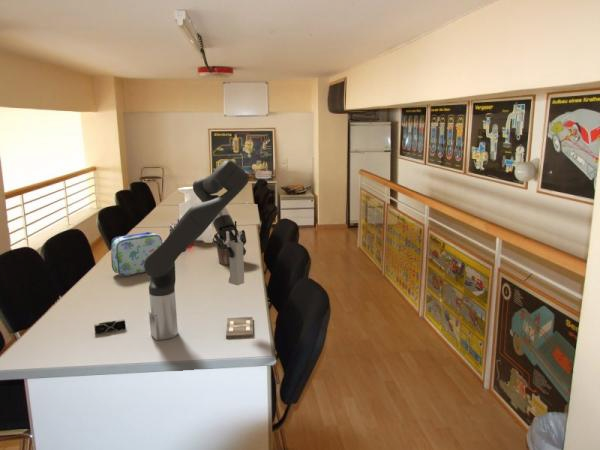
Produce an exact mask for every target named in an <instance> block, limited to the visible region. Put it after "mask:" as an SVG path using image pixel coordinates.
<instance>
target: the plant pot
mask: <svg viewBox="0 0 600 450" xmlns="http://www.w3.org/2000/svg"><path fill="white" fill-rule="evenodd" d="M214 235H218V233H217V232H216V233H215V234H214ZM238 236H239V235H238ZM239 238H240V237H239ZM220 239H221V238H220ZM240 240H241V239H240ZM221 241H222V242H223V240H222V239H221ZM215 245H216V250H217V251H216V252H217V256H218V257H217V259H218V263H219V264H221V265H224V266H230V261H229V255H228V253H227V251H226V250H224V249H223V250H221V249H220V248H219V247H218V246H217V244H216V243H215Z"/></svg>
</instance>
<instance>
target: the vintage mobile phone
mask: <svg viewBox="0 0 600 450" xmlns="http://www.w3.org/2000/svg"><path fill="white" fill-rule="evenodd" d="M234 225H235V240H232V241H230V242H228V243H229V244H230V247H231V248H232V250H233V253H234V255H235V256H234V257H233V258H231V257H229V261H230V265H229V277H228V284H232V285H235V286H240V285H242V284H244V283H245V263H244V262H245V260H244V259H245V258H244V256H245V255H243V242H241V241H237V230H238V227H237V221H236V220H234Z"/></svg>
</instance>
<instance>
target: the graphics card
mask: <svg viewBox="0 0 600 450" xmlns="http://www.w3.org/2000/svg"><path fill="white" fill-rule="evenodd" d="M93 326H94V335H97V334H98V335H99V334H104V333H109V332H115V331H120V330H125V329H126V328H127V326H126V319H125V318H123V319H121V318H120V319H116V320H113V321H112V320H111V321H103V322H99V323H94V325H93Z"/></svg>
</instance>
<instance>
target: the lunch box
mask: <svg viewBox="0 0 600 450" xmlns="http://www.w3.org/2000/svg"><path fill="white" fill-rule="evenodd" d="M162 243H163V239H162V236H160V235H159V234H157V233H154V232H149V231H145V232H141V233H135V234H126V235H119V236H115V237H114V238H112V239H111V243H110V244H111V245H110V246H111V248H110V249H111V250H110V251H111V252H110V253H111V254H110V255H111V256H110V257H111V258H110V259H111V267H112V271H113V273H115V274H118V275H120V276H121V277H129V276H132V275H137V274H141V273H146V272H145V269H144V263H145V260H146V258H147V257H148V256H149V255H150V254H151V253H152V252H153V251H154V250H156V249H157V248H158V247H159V246H160V245H161V244H162Z"/></svg>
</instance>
